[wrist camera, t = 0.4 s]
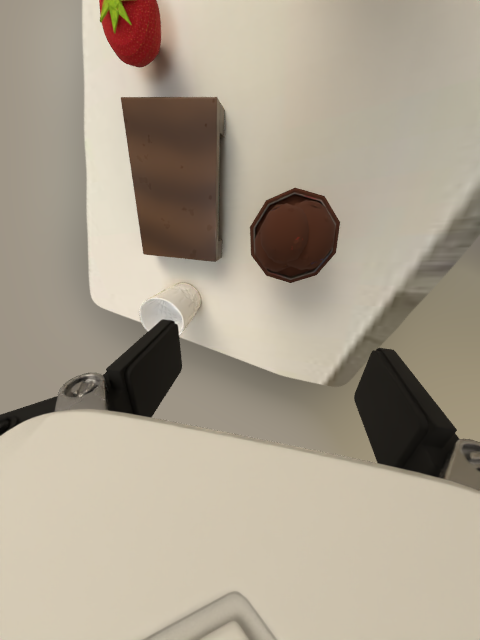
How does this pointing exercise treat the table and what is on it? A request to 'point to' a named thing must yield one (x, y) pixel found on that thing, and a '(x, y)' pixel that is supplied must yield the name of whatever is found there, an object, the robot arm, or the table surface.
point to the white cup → (171, 306)
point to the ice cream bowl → (294, 235)
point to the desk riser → (176, 173)
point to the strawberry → (132, 29)
